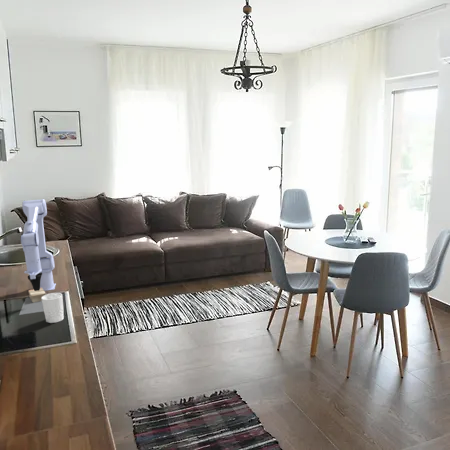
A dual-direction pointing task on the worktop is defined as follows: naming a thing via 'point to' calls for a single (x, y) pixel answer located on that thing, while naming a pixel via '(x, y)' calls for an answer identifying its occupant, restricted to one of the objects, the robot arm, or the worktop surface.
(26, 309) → the rubber mat
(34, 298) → the birch slab
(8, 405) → the worktop surface
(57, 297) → the white cup
